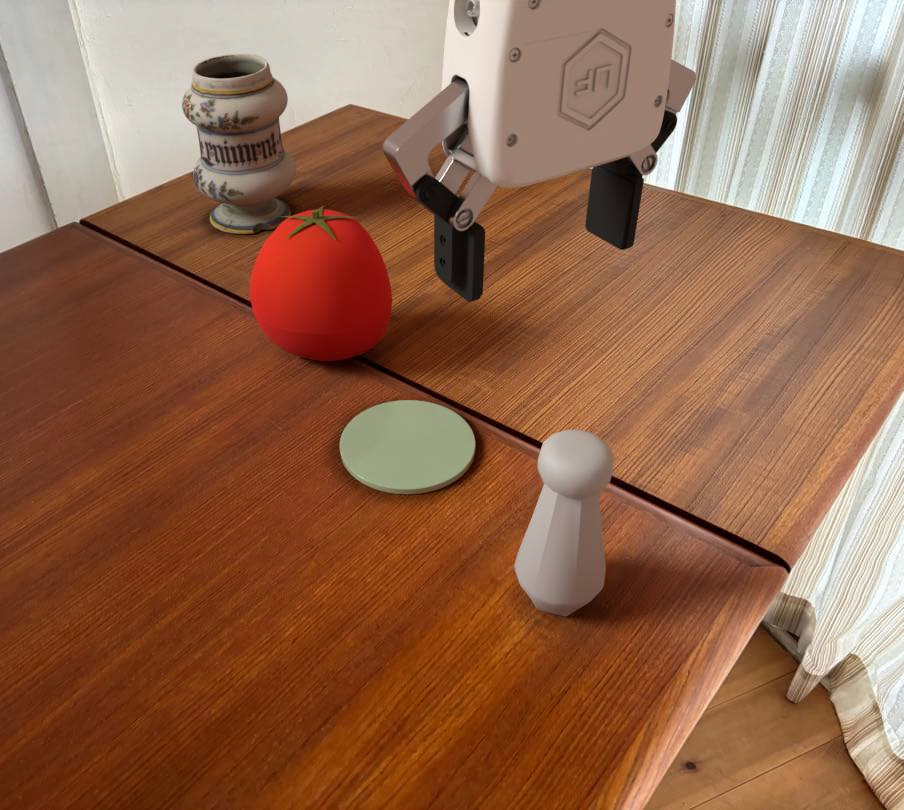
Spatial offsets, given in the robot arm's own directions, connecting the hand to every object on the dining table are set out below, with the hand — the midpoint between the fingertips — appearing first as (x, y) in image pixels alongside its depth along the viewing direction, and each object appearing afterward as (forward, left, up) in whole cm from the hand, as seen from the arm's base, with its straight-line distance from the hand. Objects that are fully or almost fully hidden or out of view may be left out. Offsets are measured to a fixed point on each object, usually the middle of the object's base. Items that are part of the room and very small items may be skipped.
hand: (536, 263), depth 45 cm
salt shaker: (-4, +2, -24) cm, 24 cm away
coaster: (+10, -10, -23) cm, 27 cm away
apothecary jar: (+40, -46, -24) cm, 65 cm away
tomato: (+21, -21, -24) cm, 38 cm away
